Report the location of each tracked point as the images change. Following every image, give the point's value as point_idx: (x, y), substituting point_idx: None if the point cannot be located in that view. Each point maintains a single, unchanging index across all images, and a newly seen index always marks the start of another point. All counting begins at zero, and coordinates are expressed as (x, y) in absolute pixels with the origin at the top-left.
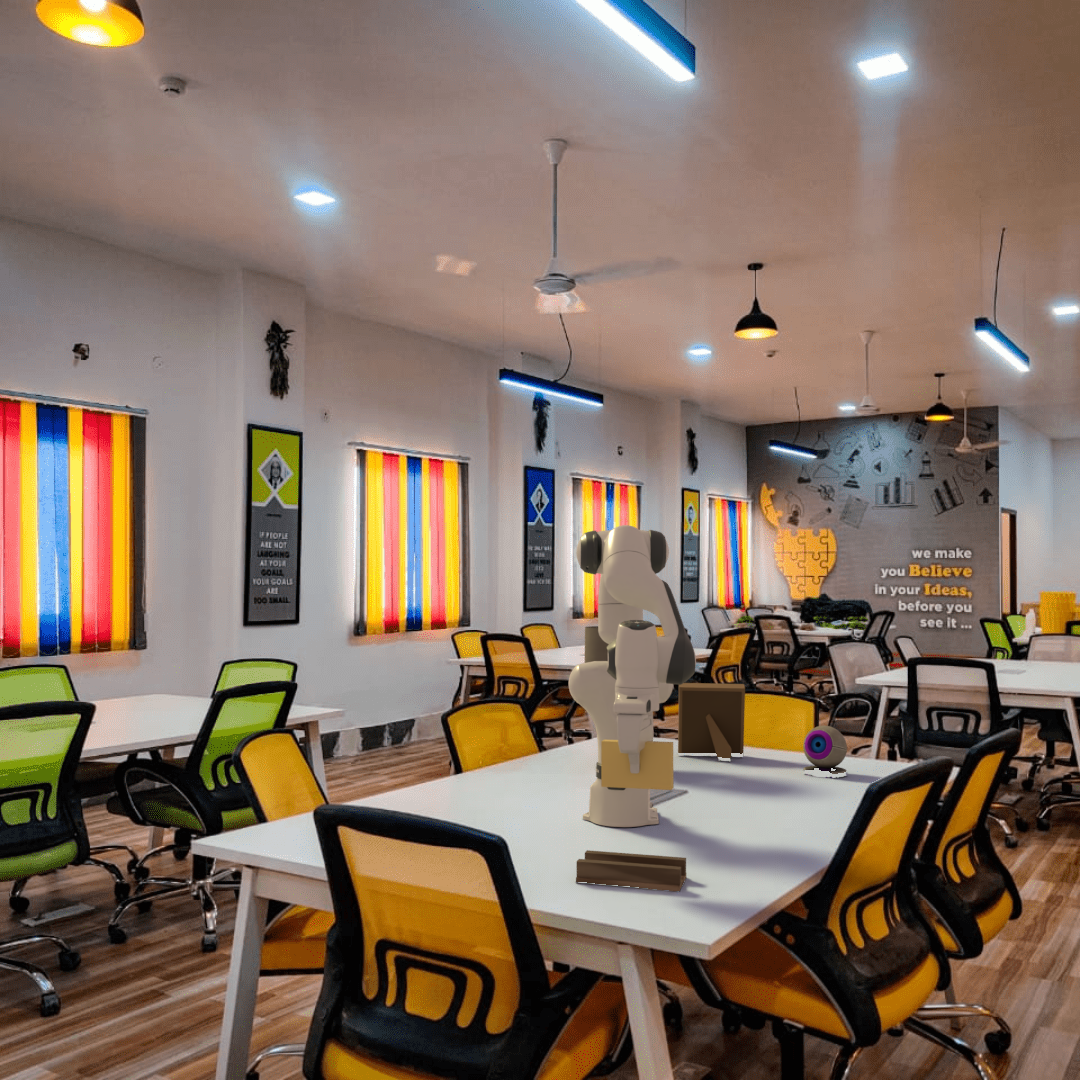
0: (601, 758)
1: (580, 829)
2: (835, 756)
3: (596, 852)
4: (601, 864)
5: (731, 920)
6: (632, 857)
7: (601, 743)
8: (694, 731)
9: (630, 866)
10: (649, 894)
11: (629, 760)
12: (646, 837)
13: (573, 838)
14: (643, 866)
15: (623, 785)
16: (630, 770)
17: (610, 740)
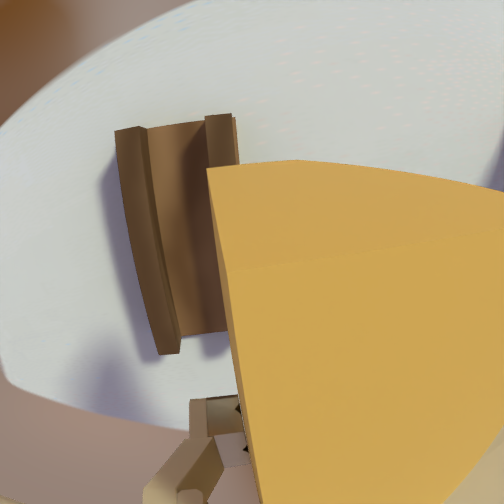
0: (212, 183)
1: (488, 67)
2: None
3: (218, 143)
4: (122, 192)
5: (82, 403)
6: None
7: (225, 238)
8: None
9: (134, 261)
10: (118, 291)
11: (166, 461)
12: (483, 182)
13: (444, 54)
14: (142, 289)
15: (223, 301)
16: (189, 407)
17: (469, 405)
